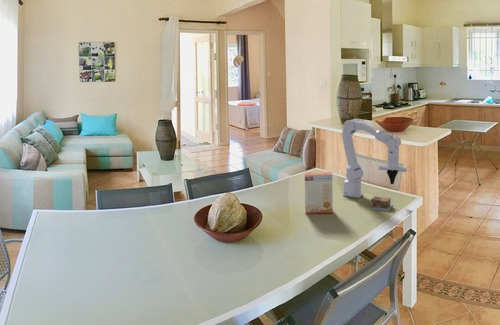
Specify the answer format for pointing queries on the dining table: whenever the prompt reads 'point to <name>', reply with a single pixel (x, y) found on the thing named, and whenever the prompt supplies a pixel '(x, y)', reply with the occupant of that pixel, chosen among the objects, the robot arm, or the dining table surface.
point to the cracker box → (318, 192)
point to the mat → (383, 208)
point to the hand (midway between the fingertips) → (392, 183)
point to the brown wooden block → (380, 202)
